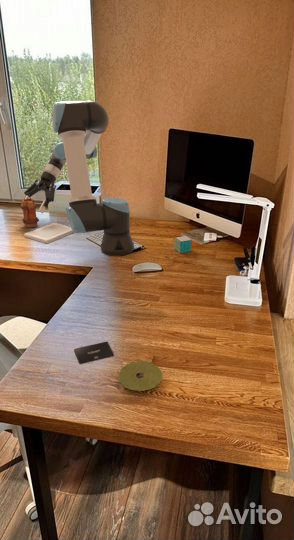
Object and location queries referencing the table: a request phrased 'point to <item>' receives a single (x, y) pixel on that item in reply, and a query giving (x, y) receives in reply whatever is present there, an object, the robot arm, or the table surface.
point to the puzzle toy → (183, 244)
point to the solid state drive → (93, 352)
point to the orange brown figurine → (29, 212)
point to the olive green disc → (140, 375)
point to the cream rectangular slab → (49, 233)
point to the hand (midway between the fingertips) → (31, 209)
